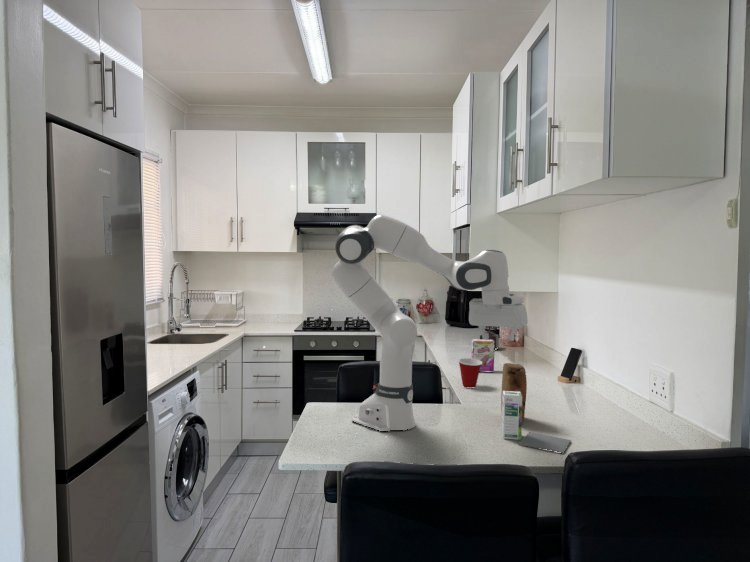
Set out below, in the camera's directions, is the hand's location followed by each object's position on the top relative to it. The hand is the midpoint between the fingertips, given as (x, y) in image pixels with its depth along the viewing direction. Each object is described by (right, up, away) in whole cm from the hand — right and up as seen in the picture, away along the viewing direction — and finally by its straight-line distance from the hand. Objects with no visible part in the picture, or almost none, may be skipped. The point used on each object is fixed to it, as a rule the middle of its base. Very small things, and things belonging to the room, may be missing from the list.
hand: (498, 339), depth 163 cm
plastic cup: (+2, -29, +59) cm, 66 cm away
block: (+9, -31, +13) cm, 34 cm away
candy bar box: (+14, -27, +90) cm, 95 cm away
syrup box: (+3, -31, -4) cm, 32 cm away
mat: (+12, -32, -9) cm, 35 cm away
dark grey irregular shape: (+31, -25, +155) cm, 160 cm away
